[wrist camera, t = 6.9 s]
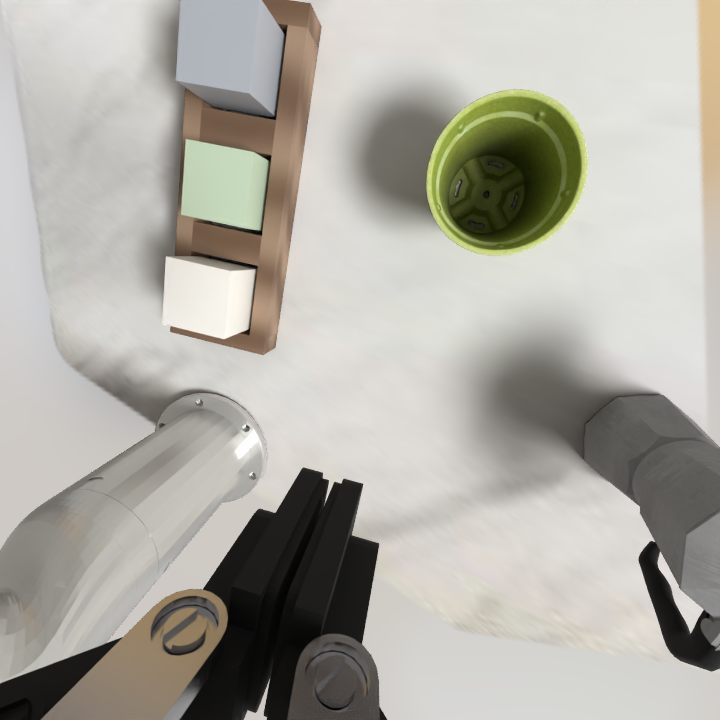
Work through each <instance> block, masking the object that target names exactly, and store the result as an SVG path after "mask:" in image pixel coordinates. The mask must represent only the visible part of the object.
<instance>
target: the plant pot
mask: <svg viewBox="0 0 720 720" xmlns="http://www.w3.org/2000/svg"><path fill="white" fill-rule="evenodd" d="M489 162H499V163H502V164H503V165H504V168H503V169H500V168H498V167H495V166H491V165H487V163H489ZM587 170H588V156H587V147H586V143H585V139H584V137H583V133H582V131H581V129H580V127H579V125H578V123H577V122H576V120H575V118H574V117H573V116H572V114H571V113H570V112H569V111H568V110H567V109H566V108H565V107H564V106H563V105H562V104H560V103H559V102H558V101H556V100H554V99H553V98H551V97H549V96H547V95H545V94H542V93H539V92H535V91H530V90H521V89H513V90H504V91H500V92H496V93H493V94H489V95H486V96H484V97H482V98H480V99H478V100H476V101H474V102H472V103H471V104H469V105H468V106H467V107H465V108H464V109H463V110H461V111H460V112H459V113H458V114H457V115H456V116H455V117H454V118H453V119H452V120H451V121H450V122H449V123H448V125H447V126H446V127H445V128H444V130H443V131H442V133H441V134H440V136H439V138H438V140H437V142H436V143H435V146H434V148H433V151H432V153H431V156H430V160H429V164H428V169H427V177H426V191H427V198H428V203H429V206H430V210H431V212H432V215H433V217H434V219H435V221H436V223H437V224H438V226H439V227H440V229H441V230H442V231H443V232H444V234H445V235H446V236H447V237H448V238H449V239H451V240H452V241H453V242H455V243H456V244H457V245H459V246H461V247H463V248H464V249H467V250H469V251H472V252H475V253H478V254H483V255H491V256H501V255H510V254H516V253H519V252H523V251H526V250H528V249H531V248H533V247H535V246H537V245H539V244H541V243H542V242H544V241H546V240H547V239H548V238H550V237H551V236H552V235H554V234H555V233H556V232H557V231H558V230H559V229H560V228H561V227H562V226H563V225H564V224H565V223H566V221H567V220H568V219H569V217H570V216H571V215H572V213H573V212H574V210H575V208H576V206H577V205H578V202H579V200H580V198H581V195H582V193H583V189H584V187H585V183H586V178H587ZM459 180H462V181H463V182H462V184H461V186H460V189H459V193H458V197H455V195H454V194H455V191H456V185H457V183H458V181H459ZM486 191H488V192H489V193H490V195H489V197H488V198H485V197H484V196H483V195H484V192H486ZM515 193H517V194H518V195H519V196H518V201H517V204H516V206H515V208H514V209H513V210H510V207H511V205H512V203H513V200H514V196H515ZM470 220H471V221H473V222H476V223H480V224H484V225H485V226H484V227H483V228H477V227H474V226H471V225H470V224H469V223H468V222H469V221H470Z"/></svg>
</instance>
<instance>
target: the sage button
mask: <svg viewBox="0 0 720 720" xmlns="http://www.w3.org/2000/svg"><path fill="white" fill-rule="evenodd" d="M270 166H271V162H270V161H268V160H266V159H265V158H263V157H261V156H260V155H258V154H256V153H255V152H251V151H246V150H241V149H236V148H230V147H225V146H220V145H215V144H209V143H204V142H199V141H194V140H188V139H186V144H185V159H184V175H183V190H182V205H181V215H185V216H190V217H195V218H199V219H204V220H209V221H213V222H218V223H223V224H227V225H232V226H237V227H241V228H246V229H253V230H260V231H263V223H264V214H265V206H266V198H267V190H268V182H269V174H270Z"/></svg>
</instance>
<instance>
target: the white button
mask: <svg viewBox="0 0 720 720" xmlns="http://www.w3.org/2000/svg"><path fill="white" fill-rule="evenodd" d="M257 271H258V269H255V268H251V267H247V266H242V265H238V264H233V263H229V262H224V261H220V260H216V259H211V258H207V257H202V256H166V264H165V281H164V299H163V317H162V324H165V325H169V326H173V327H177V328H181V329H185V330H189V331H193V332H197V333H201V334H205V335H209V336H213V337H217V338H221V339H226V338H228V337H231V336H233V335H236V334H238V333H241V332H243V331H246V330H248V329H250V328H251V320H252V312H253V304H254V296H255V288H256V279H257Z"/></svg>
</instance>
